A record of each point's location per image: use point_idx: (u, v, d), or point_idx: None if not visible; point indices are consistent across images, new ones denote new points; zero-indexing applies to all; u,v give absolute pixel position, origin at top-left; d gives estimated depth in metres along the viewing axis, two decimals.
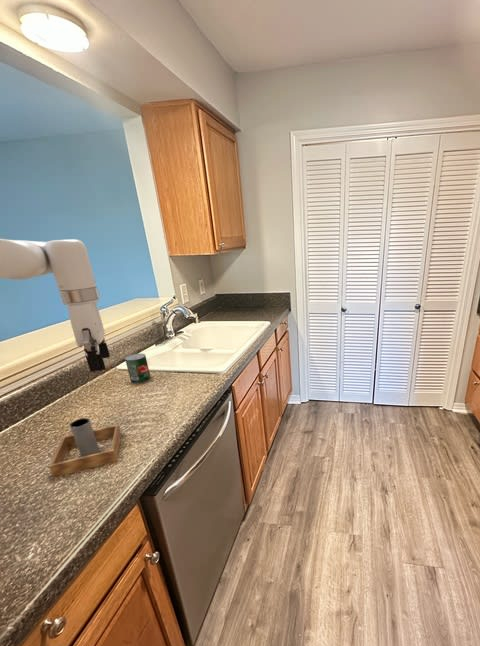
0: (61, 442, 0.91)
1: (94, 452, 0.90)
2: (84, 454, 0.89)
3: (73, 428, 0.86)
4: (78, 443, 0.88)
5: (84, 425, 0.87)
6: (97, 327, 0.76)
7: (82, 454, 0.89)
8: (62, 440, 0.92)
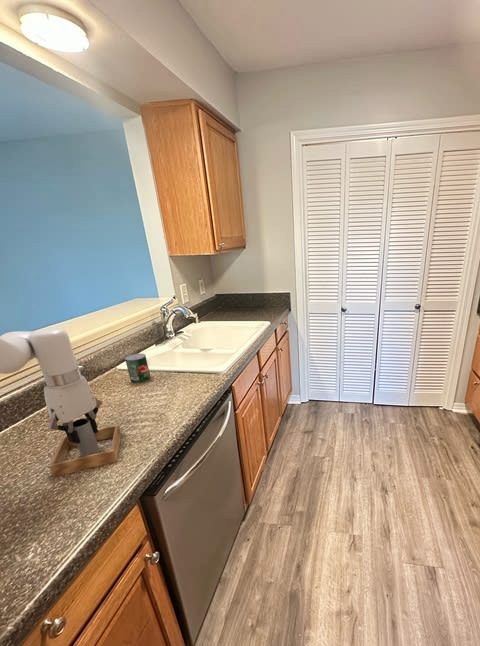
0: (61, 442, 0.91)
1: (94, 452, 0.90)
2: (84, 454, 0.89)
3: (73, 428, 0.86)
4: None
5: (84, 425, 0.87)
6: (63, 409, 0.81)
7: (82, 454, 0.89)
8: (62, 440, 0.92)
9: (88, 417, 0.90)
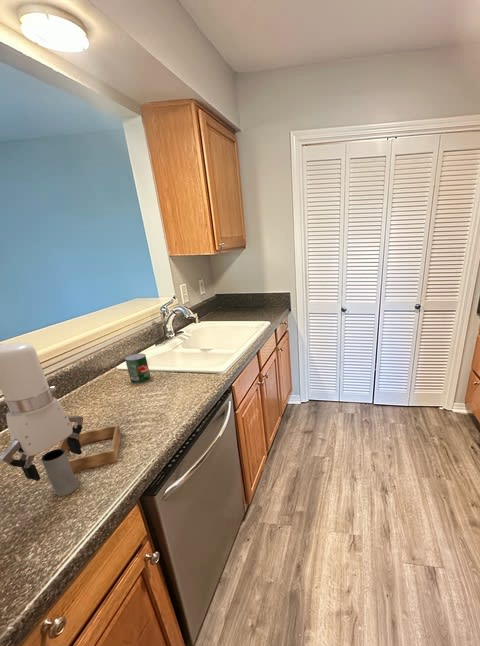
0: (61, 442, 0.91)
1: (71, 488, 0.77)
2: (59, 491, 0.76)
3: (45, 462, 0.73)
4: (51, 479, 0.75)
5: (58, 458, 0.74)
6: (30, 439, 0.68)
7: (56, 491, 0.76)
8: (62, 440, 0.92)
9: None
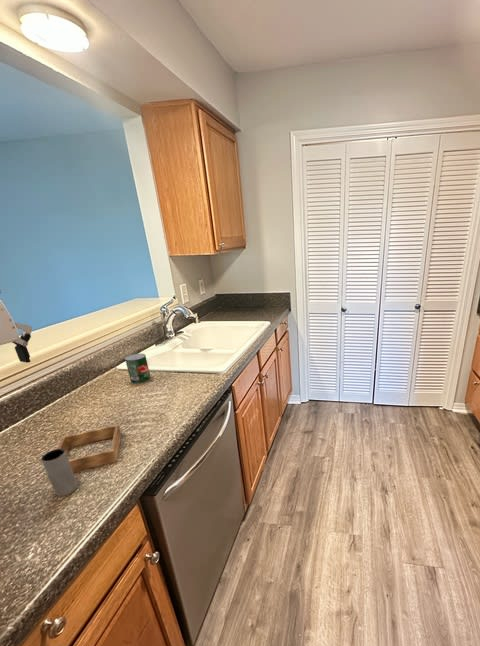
0: (61, 442, 0.91)
1: (71, 488, 0.77)
2: (59, 491, 0.76)
3: (45, 462, 0.73)
4: (51, 479, 0.75)
5: (58, 458, 0.74)
6: None
7: (56, 491, 0.76)
8: (62, 440, 0.92)
9: (18, 345, 0.79)
